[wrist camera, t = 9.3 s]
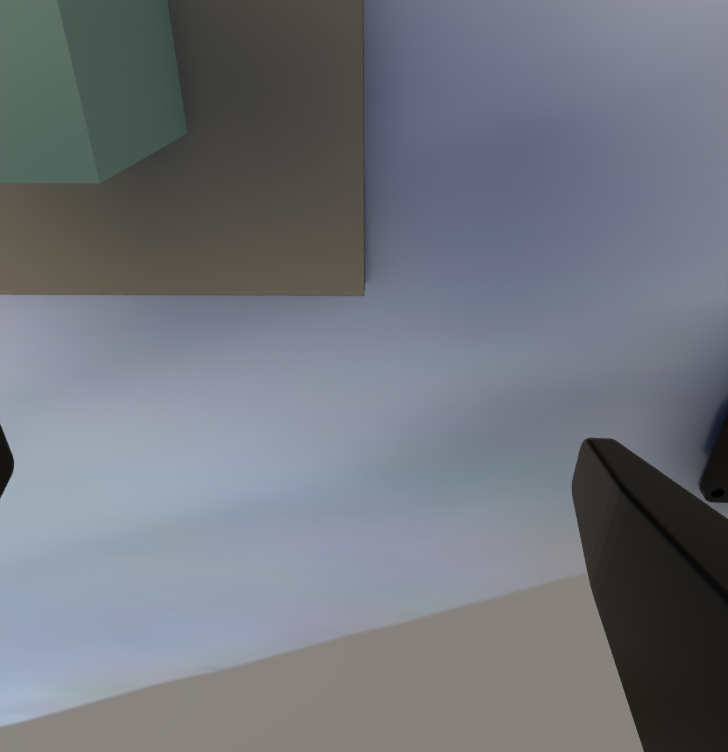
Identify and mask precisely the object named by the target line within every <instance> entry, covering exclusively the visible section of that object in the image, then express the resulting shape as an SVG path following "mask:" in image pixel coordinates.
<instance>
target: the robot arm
mask: <svg viewBox="0 0 728 752" xmlns="http://www.w3.org/2000/svg"><path fill="white" fill-rule="evenodd" d="M13 469H14V459H13V455H12V453H11V450H10V447H9V445H8V442H7V440H6V437H5V435H4V432H3V429H2V427H1V425H0V498H1V496H2V494H3V492H4V490H5V488H6V486H7V484H8V482H9V480H10V478H11V476H12V473H13ZM715 489H716V490H715ZM713 490H714V491H713ZM700 491H701V493H702V495H703V496H704V497H705V499H706V500H707V501H709V502H725V503H728V416H727V418H726V420H725V422H724V425H723V427H722V430H721V433H720V435H719V438H718V440H717V443H716V445H715V448H714V450H713V453H712V456H711V458H710V461H709V463H708V468H707V471H706V473H705V476H704V478H703V481H702V483H701V486H700ZM572 496H573V502H574V507H575V512H576V517H577V522H578V527H579V532H580V537H581V542H582V547H583V552H584V557H585V562H586V567H587V572H588V576H589V581H590V586H591V589H592V593H593V596H594V599H595V602H596V606H597V609H598V612H599V615H600V618H601V621H602V624H603V627H604V630H605V633H606V637H607V640H608V643H609V646H610V649H611V652H612V655H613V658H614V661H615V664H616V667H617V670H618V673H619V676H620V679H621V682H622V686H623V689H624V692H625V695H626V698H627V701H628V704H629V707H630V710H631V713H632V716H633V719H634V722H635V726H636V729H637V732H638V735H639V737H640V741H641V744H642V747H643V750H644V752H728V519H727V518H726V517H724V516H723V515H721V514H720V513H719V512H717V511H716V510H714V509H713V508H711V507H710V506H709V505H707V504H706V503H704V502H703V501H701V500H700V499H699V498H697V497H696V496H694V495H693V494H691V493H690V492H689V491H687V490H686V489H684V488H683V487H681V486H680V485H679V484H677V483H676V482H674V481H673V480H671V479H670V478H669V477H667V476H666V475H664V474H663V473H661V472H660V471H659V470H657V469H656V468H654V467H653V466H651V465H650V464H649V463H647V462H646V461H644V460H643V459H642V458H640V457H639V456H637V455H636V454H634V453H633V452H632V451H630V450H629V449H627V448H626V447H624V446H623V445H622V444H620V443H619V442H617V441H616V440H614V439H610V438H587V439H585V440H584V441H583V443H582V444H581V447H580V451H579V455H578V459H577V463H576V467H575V472H574V476H573V480H572Z"/></svg>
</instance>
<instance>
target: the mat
mask: <svg viewBox="0 0 728 752" xmlns="http://www.w3.org/2000/svg"><path fill="white" fill-rule="evenodd" d="M167 1H168V8H169V15H170V21H171V28H172V35H173V41H174V48H175V55H176V61H177V68H178V74H179V81H180V88H181V94H182V101H183V108H184V114H185V121H186V128H187V134H186V135H184V136H182V137H181V138H179V139H177V140H175V141H174V142H172V143H170V144H168V145H166V146H165V147H163V148H161V149H159V150H158V151H156V152H154V153H152V154H151V155H149V156H147V157H145V158H144V159H142V160H140V161H138V162H137V163H135V164H133V165H131V166H130V167H128V168H126V169H124V170H123V171H121V172H119V173H117V174H116V175H114V176H112V177H110V178H109V179H107V180H105V181H103V182H102V183H100V184H98V183H0V294H12V295H287V296H364V290H365V224H364V48H363V0H167Z"/></svg>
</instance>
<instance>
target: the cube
mask: <svg viewBox="0 0 728 752" xmlns="http://www.w3.org/2000/svg"><path fill="white" fill-rule="evenodd" d="M186 134H187V128H186V121H185V114H184V108H183V101H182V94H181V88H180V81H179V74H178V68H177V61H176V55H175V48H174V41H173V35H172V28H171V21H170V15H169V8H168V1H167V0H0V183H98V184H100V183H102V182H103V181H105V180H107V179H109V178H110V177H112V176H114V175H116V174H117V173H119V172H121V171H123V170H124V169H126V168H128V167H130V166H131V165H133V164H135V163H137V162H138V161H140V160H142V159H144V158H145V157H147V156H149V155H151V154H152V153H154V152H156V151H158V150H159V149H161V148H163V147H165V146H166V145H168V144H170V143H172V142H174V141H175V140H177V139H179V138H181V137H182V136H184V135H186Z"/></svg>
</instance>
